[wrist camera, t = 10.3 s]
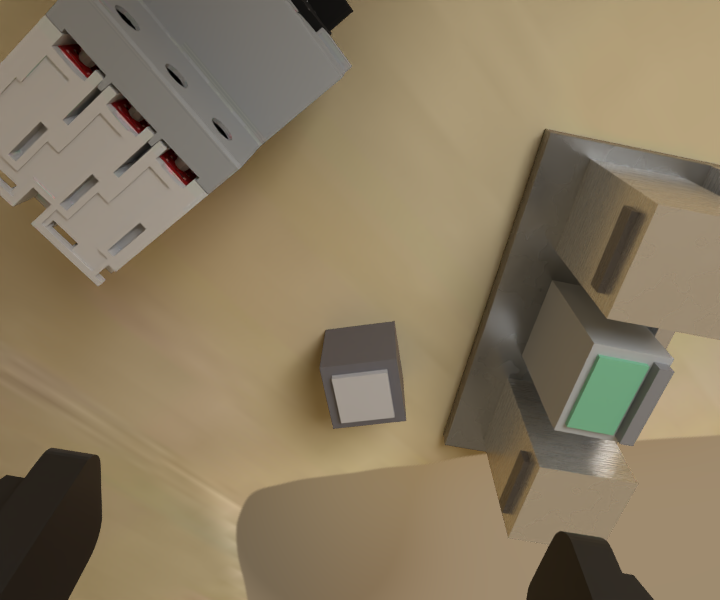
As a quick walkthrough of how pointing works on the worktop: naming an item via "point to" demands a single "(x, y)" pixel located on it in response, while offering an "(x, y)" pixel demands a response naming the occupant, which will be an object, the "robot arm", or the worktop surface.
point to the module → (594, 367)
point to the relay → (363, 375)
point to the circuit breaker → (151, 109)
